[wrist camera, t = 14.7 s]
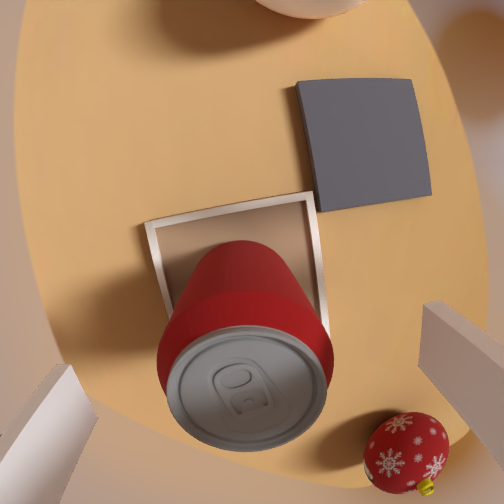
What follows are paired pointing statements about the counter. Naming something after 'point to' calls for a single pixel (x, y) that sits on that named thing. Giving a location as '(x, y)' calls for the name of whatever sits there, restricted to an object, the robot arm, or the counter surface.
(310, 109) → the pad
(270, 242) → the board
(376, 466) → the christmas ornament
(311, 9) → the lidded jar
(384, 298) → the counter surface
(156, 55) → the counter surface
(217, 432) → the beverage can
